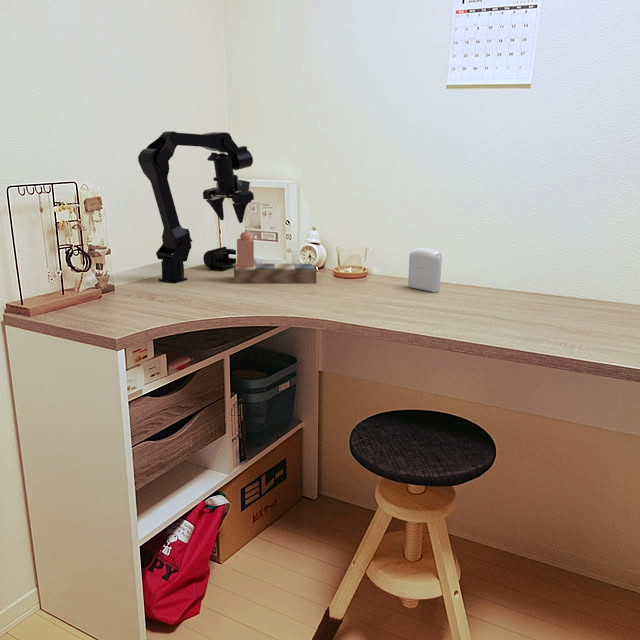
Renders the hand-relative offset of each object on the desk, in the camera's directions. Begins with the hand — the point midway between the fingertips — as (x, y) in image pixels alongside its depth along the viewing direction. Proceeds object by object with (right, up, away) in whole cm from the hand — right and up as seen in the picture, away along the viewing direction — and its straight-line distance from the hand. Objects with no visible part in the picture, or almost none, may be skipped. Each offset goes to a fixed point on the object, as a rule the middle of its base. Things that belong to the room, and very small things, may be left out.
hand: (231, 221), depth 211 cm
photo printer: (+60, -23, -16) cm, 66 cm away
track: (+15, -20, -9) cm, 26 cm away
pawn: (+6, -15, -11) cm, 20 cm away
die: (+7, -16, +3) cm, 18 cm away
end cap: (-5, -15, +8) cm, 17 cm away
